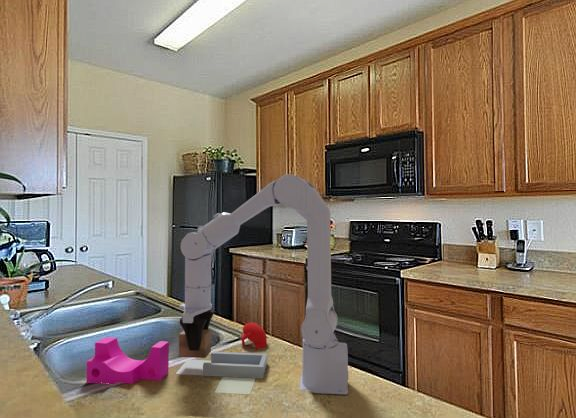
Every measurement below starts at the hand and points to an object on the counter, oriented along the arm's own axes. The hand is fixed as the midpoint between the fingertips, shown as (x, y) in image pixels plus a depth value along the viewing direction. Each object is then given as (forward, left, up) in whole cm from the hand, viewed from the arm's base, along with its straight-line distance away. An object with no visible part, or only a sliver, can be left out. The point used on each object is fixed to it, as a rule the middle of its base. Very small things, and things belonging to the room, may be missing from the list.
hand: (197, 346), depth 87 cm
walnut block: (0, 0, -2) cm, 2 cm away
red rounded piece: (-10, -16, -6) cm, 20 cm away
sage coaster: (-10, +8, -5) cm, 14 cm away
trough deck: (-6, 0, -5) cm, 8 cm away
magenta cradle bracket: (+13, +6, -6) cm, 15 cm away
